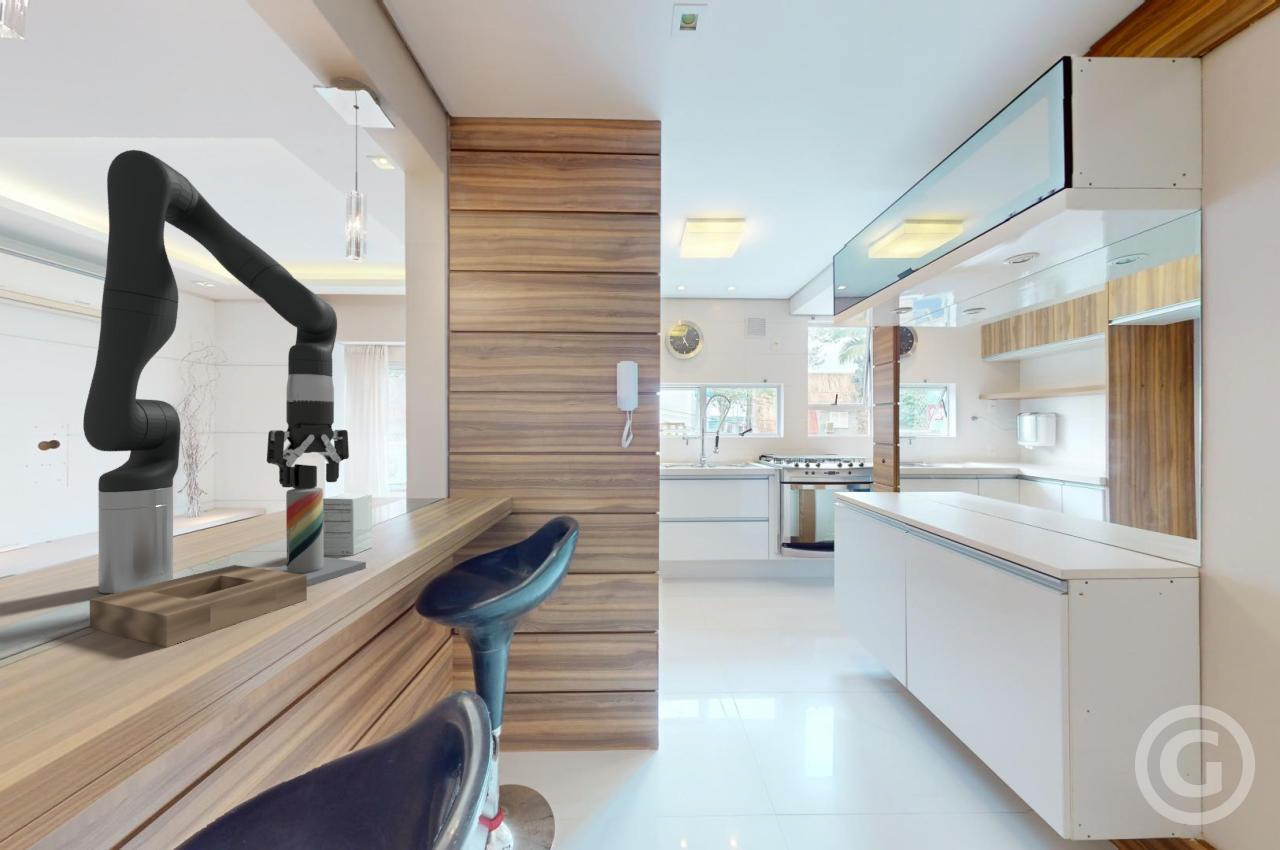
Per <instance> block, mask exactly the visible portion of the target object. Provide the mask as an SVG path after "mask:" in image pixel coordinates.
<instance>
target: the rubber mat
mask: <svg viewBox="0 0 1280 850" xmlns="http://www.w3.org/2000/svg"><path fill="white" fill-rule="evenodd" d="M366 562H367V561H361V560H360V561H359V560H353V559H344V558H336V557H335V558H334V557H327V556H326V557H325V556H323V567H322V568H321V569H319V570H317V571H313V572H308V573H301V574H302V575H307V587H309V586H313V584H314V585H316V583H317V584H319V582H320V583H322V581H323V582H326V581H329V580H333V579H335V577H336V578H338V577H342V576H346V575H347V574H348V575H349V574H351V573H354V572H358V571H360V570H361V571H362V570H364V569H366V567H367V565H366V564H367V563H366ZM268 570H274V571H281V572H288V571H287V564H286V565H282V566H278V567H274V568H270V569H268ZM332 578H333V579H332ZM325 580H326V581H325Z"/></svg>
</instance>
